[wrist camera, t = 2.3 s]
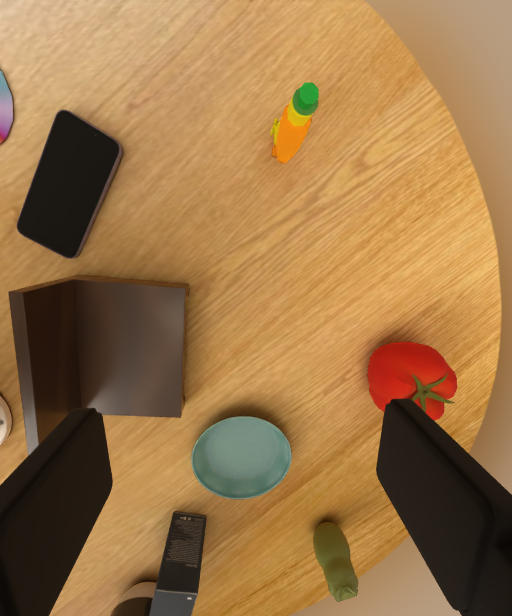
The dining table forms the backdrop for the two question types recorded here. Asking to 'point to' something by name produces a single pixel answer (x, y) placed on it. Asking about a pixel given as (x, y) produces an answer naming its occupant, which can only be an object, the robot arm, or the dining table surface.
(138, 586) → the dark brown egg shape
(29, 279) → the dining table surface
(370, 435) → the dining table surface
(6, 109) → the cd
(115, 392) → the shelf
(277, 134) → the toy figure
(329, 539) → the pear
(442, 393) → the tomato
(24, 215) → the smartphone
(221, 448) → the saucer
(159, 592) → the box
